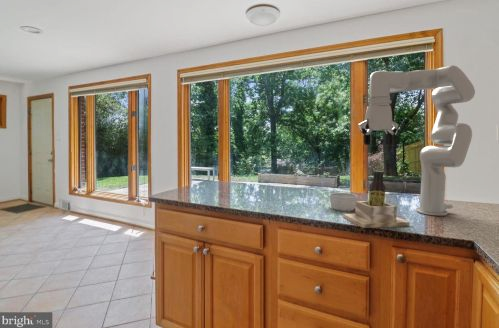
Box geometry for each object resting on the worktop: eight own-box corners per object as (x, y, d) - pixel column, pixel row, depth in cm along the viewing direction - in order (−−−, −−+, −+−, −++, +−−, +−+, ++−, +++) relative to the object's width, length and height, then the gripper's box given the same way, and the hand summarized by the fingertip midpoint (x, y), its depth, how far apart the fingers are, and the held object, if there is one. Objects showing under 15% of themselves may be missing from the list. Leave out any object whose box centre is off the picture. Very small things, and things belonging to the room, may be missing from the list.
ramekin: (359, 212, 136) (359, 198, 135) (330, 211, 138) (330, 196, 138) (354, 206, 148) (355, 193, 148) (328, 205, 151) (328, 192, 151)
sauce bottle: (367, 218, 118) (369, 171, 117) (367, 215, 124) (368, 169, 122) (384, 220, 116) (386, 171, 114) (383, 216, 122) (385, 170, 120)
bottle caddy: (384, 215, 129) (385, 199, 129) (409, 225, 114) (410, 207, 113) (343, 217, 126) (343, 200, 126) (363, 228, 111) (364, 209, 110)
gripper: (392, 104, 121) (390, 144, 123) (354, 103, 119) (353, 144, 120) (404, 101, 114) (402, 144, 115) (364, 101, 111) (363, 144, 113)
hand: (377, 144), depth 118 cm, fingers open, 9 cm apart
